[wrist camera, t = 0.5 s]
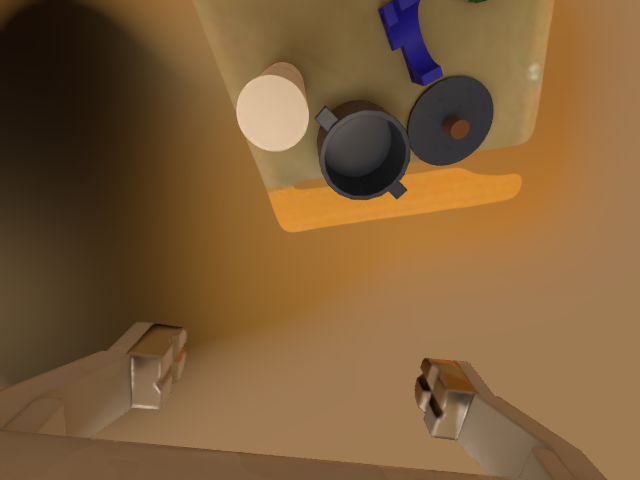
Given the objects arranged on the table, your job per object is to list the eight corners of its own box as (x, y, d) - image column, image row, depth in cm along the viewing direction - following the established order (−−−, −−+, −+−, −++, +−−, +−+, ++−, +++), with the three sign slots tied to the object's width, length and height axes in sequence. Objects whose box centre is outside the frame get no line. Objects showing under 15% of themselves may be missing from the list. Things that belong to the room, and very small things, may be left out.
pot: (347, 68, 50) (356, 72, 42) (418, 150, 59) (437, 166, 51) (289, 135, 56) (288, 150, 48) (362, 201, 64) (372, 223, 56)
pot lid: (461, 54, 50) (476, 55, 46) (505, 120, 57) (522, 126, 52) (389, 125, 56) (397, 132, 52) (437, 179, 62) (447, 189, 58)
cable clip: (378, 9, 46) (387, 5, 41) (405, -8, 46) (419, -15, 40) (403, 86, 52) (415, 91, 47) (428, 72, 52) (443, 75, 47)
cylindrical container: (312, 91, 52) (323, 122, 31) (280, 117, 54) (269, 164, 33) (285, 51, 49) (276, 57, 28) (252, 81, 51) (220, 108, 30)
